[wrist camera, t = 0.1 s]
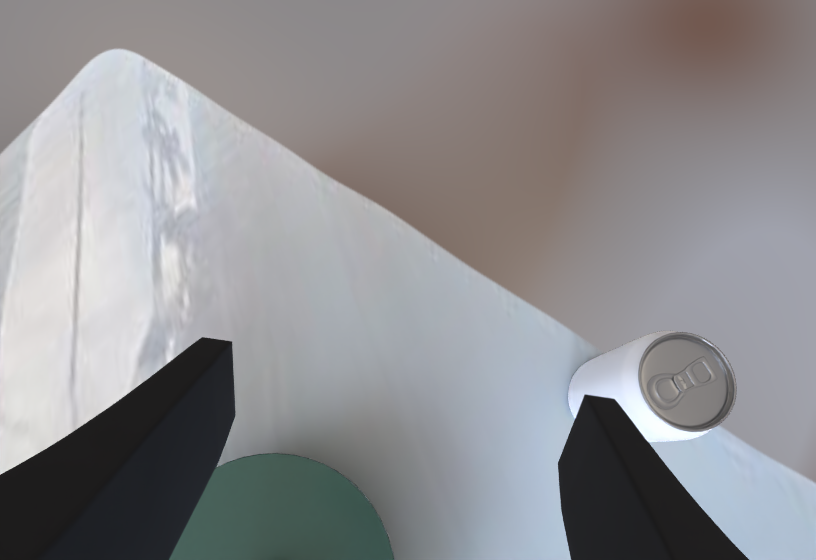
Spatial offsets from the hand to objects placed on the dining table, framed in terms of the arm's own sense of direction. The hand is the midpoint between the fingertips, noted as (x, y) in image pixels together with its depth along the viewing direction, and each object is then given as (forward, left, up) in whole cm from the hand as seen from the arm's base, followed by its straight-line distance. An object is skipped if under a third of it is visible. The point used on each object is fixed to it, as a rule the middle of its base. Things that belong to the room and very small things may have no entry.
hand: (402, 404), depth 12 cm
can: (+5, -16, -32) cm, 36 cm away
